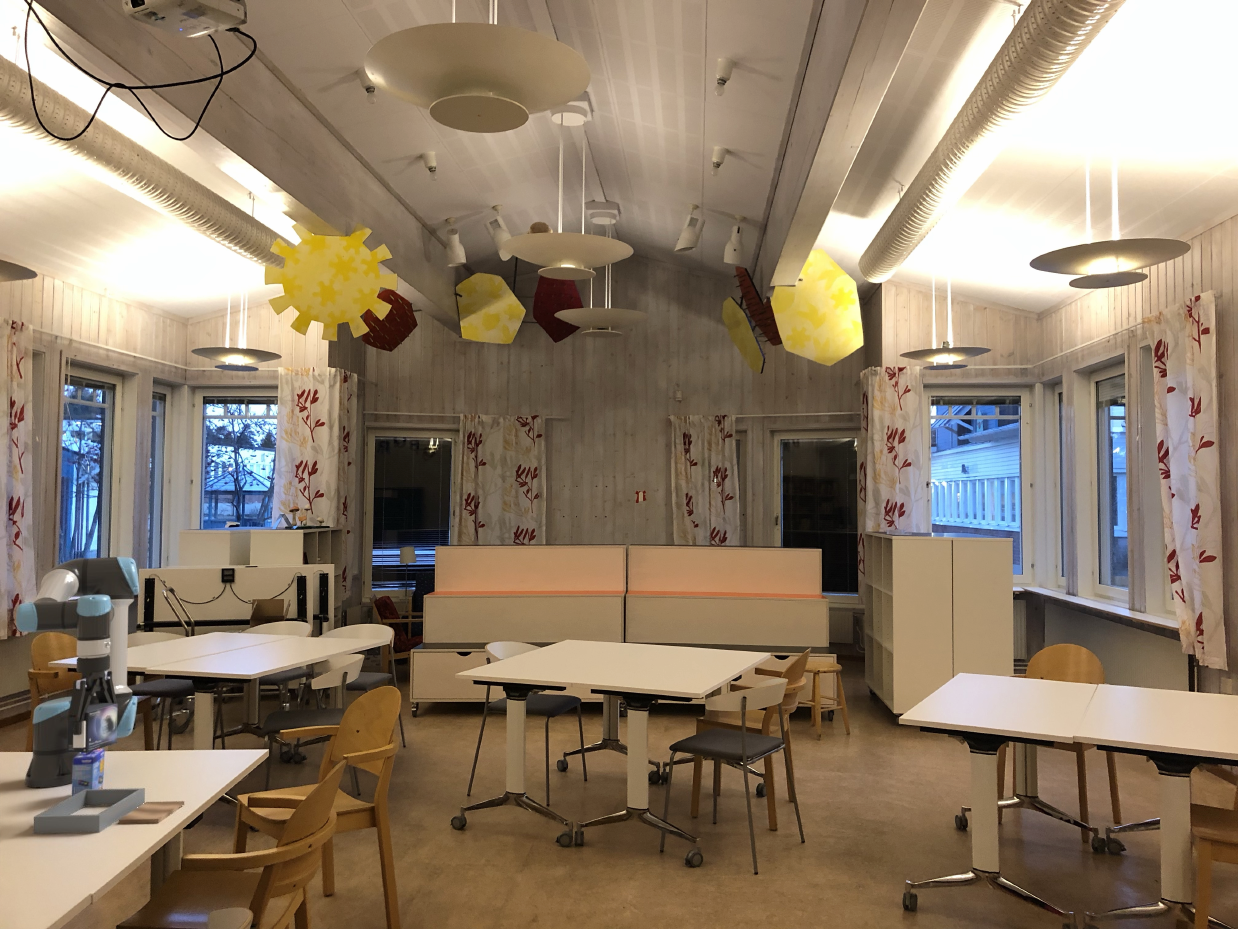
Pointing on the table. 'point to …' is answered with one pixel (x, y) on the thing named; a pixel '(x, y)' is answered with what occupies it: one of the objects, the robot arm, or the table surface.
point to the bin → (64, 822)
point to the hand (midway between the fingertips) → (92, 741)
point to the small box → (96, 727)
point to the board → (151, 812)
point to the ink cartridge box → (88, 771)
